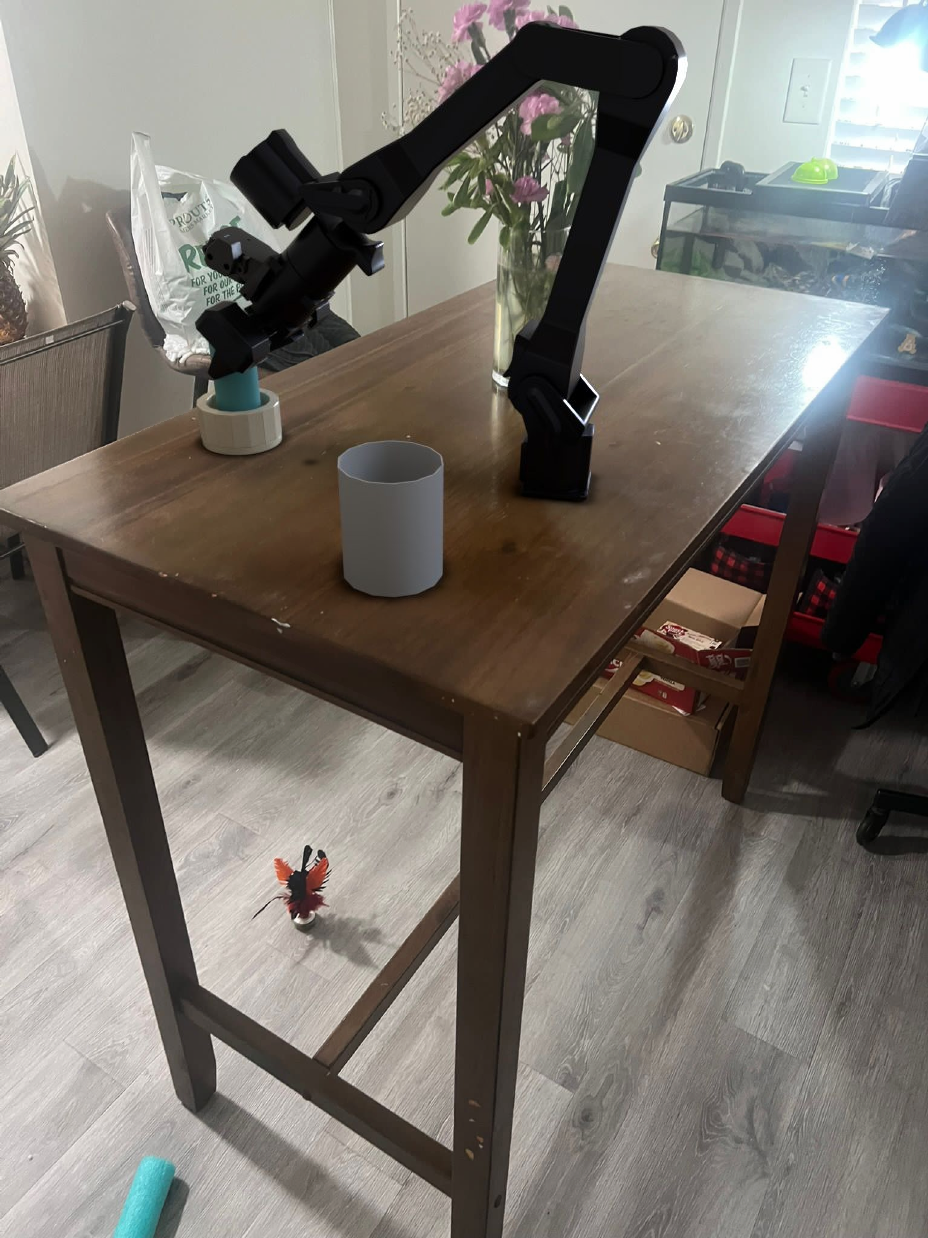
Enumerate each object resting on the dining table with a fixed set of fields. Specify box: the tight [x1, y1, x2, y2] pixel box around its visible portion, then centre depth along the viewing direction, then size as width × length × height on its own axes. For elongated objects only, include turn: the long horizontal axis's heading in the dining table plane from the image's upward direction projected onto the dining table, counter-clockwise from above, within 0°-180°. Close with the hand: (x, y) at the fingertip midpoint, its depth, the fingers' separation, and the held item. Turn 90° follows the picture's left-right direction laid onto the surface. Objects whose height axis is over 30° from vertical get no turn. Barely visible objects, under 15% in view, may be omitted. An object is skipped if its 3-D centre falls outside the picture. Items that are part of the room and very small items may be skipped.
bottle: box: [207, 299, 261, 412], centre depth 95 cm, size 5×5×14 cm
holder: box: [196, 387, 283, 456], centre depth 98 cm, size 9×9×4 cm
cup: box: [337, 440, 444, 598], centre depth 74 cm, size 8×8×10 cm
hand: (223, 368), depth 96 cm, fingers closed on bottle, 4 cm apart
